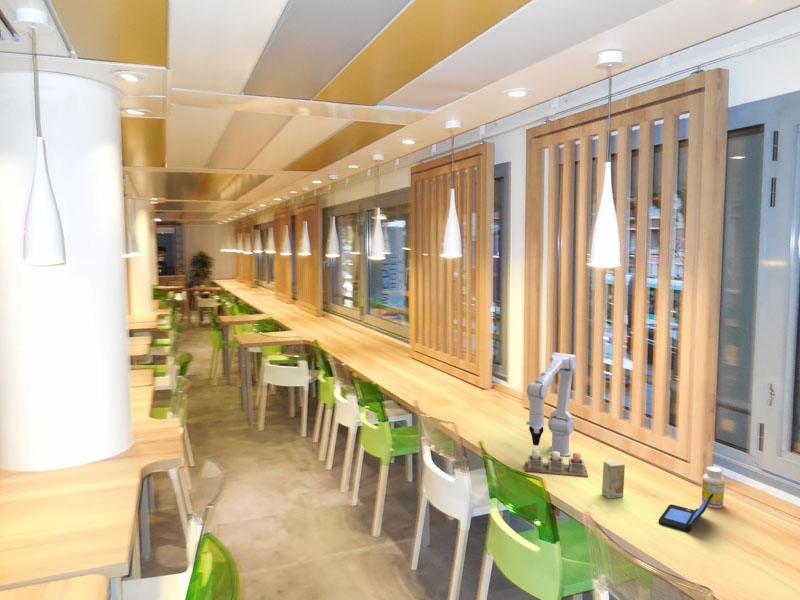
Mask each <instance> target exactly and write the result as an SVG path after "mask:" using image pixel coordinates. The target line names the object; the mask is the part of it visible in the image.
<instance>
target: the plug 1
mask: <svg viewBox="0 0 800 600" xmlns="http://www.w3.org/2000/svg"><path fill="white" fill-rule="evenodd" d="M531 455H532V460H539V456H540V450H539V449H532V450H531Z"/></svg>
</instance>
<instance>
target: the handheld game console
mask: <svg viewBox="0 0 800 600" xmlns="http://www.w3.org/2000/svg"><path fill="white" fill-rule="evenodd" d="M712 497H713V494H711V495H710V496H709V497H708V498H707V500H706V501H705V502H704V503H702V504H701V505H700V506H699V507H698V508H696V509H695V510H694V509H691V508H686V507H684V506H680V505H676V504H669V505H668V506H667V507H666V509H665V511H663V513H662V514H661V516H660V517H659V519H658V523H659V525H660V526H661V525H662V526H664V527H668V528H671V529H674V530H677V531H682V532H684V533H688V534H689V533H690V531H691V529H692V527H693V525H694V524H695V523H696V521H697V520H698V519H699V518H700V517H701V516H702V515H704V513H705V512H706V510H707V507H709V506H708V504H709V503H710V501H711V499H712Z"/></svg>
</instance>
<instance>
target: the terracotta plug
mask: <svg viewBox="0 0 800 600" xmlns="http://www.w3.org/2000/svg"><path fill="white" fill-rule="evenodd" d="M572 459H573V463H580V459H582V458H581V453H579V452H573V453H572Z"/></svg>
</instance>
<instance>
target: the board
mask: <svg viewBox="0 0 800 600" xmlns="http://www.w3.org/2000/svg"><path fill="white" fill-rule="evenodd" d="M524 463H525V471H524V472H525V473H534V474H542V475H543V474H545V475H546V474H547V475H557V476H567V477H568V476H569V477H582V478H589V474H588V471H587V466H586V465H585V461H584V459H583V458H581V459H580V463H573V457H571V458H568V464H564V457H560V461H559V462H555V461H552V456H548V462H544V458H543V455H539V460H532V454H531V455H530V454H529V455H528V461H527V460H526V461H524Z"/></svg>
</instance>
